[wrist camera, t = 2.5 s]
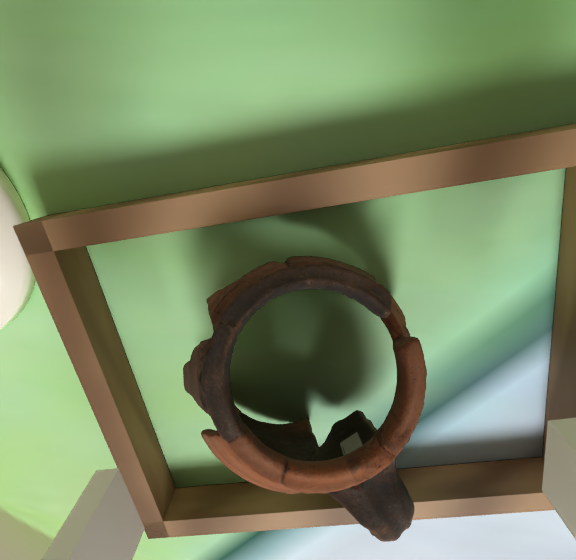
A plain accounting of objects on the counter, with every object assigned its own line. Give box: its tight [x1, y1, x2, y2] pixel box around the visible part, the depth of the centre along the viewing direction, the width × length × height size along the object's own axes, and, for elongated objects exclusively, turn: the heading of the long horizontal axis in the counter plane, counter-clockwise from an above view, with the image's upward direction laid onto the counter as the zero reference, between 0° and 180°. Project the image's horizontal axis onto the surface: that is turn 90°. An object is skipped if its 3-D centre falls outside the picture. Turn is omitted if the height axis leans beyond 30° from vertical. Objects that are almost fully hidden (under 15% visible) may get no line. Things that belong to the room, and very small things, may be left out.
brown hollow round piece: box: [183, 256, 427, 541], centre depth 16 cm, size 12×10×8 cm
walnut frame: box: [13, 124, 576, 539], centre depth 17 cm, size 22×17×2 cm
